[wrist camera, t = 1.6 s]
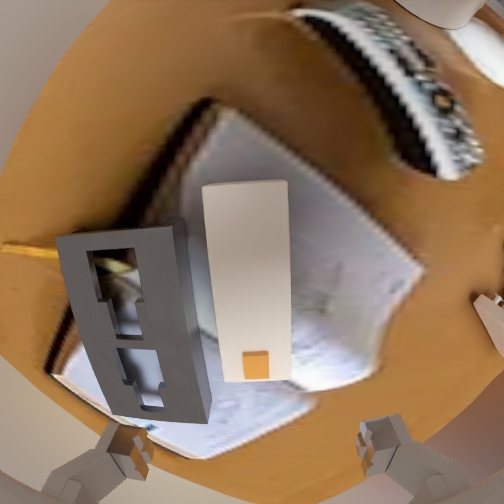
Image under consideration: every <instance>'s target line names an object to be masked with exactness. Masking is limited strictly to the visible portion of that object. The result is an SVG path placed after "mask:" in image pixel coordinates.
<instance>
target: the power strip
mask: <svg viewBox="0 0 504 504" xmlns="http://www.w3.org/2000/svg"><path fill="white" fill-rule="evenodd" d="M202 196H203V207H204V218H205V229H206V239H207V249H208V258H209V267H210V276H211V285H212V293H213V302H214V310H215V317H216V325H217V332H218V340H219V347H220V354H221V361H222V368H223V374H224V381H225V382H257V381H277V380H291V274H290V236H289V208H288V186H287V181H286V180H284V179H273V180H254V181H238V182H225V183H212V184H208V185H205V186H202Z"/></svg>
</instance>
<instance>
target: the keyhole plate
mask: <svg viewBox="0 0 504 504" xmlns="http://www.w3.org/2000/svg"><path fill="white" fill-rule="evenodd" d="M55 240H56V245H57V250H58V255H59V260H60V265H61V269H62V273H63V277H64V281H65V285H66V289H67V293H68V297H69V300H70V304H71V307H72V311H73V314H74V317H75V320H76V324H77V327H78V330H79V333H80V336H81V339H82V342H83V344H84V347H85V350H86V353H87V355H88V358H89V361H90V363H91V366H92V368H93V371H94V373H95V376H96V378H97V381H98V383H99V385H100V388H101V390H102V392H103V394H104V397H105V399H106V401H107V403H108V405H109V407H110V409H111V412H112V414H113V415H119V416H125V417H132V418H140V419H148V420H157V421H167V422H180V423H197V424H208V419H209V414H210V408H211V402H212V397H211V392H210V387H209V382H208V377H207V372H206V366H205V361H204V355H203V350H202V344H201V338H200V332H199V326H198V320H197V313H196V307H195V300H194V293H193V286H192V279H191V272H190V264H189V256H188V248H187V239H186V231H185V221H184V217H180V218H173V219H171V220H170V221H168V222H167V223H165V224H164V225H155V226H143V227H132V228H122V229H111V230H101V231H92V232H86V231H85V227H80V228H76V229H73V230H71V231H69V232H66V233H64V234H62V235H59V236H57V237H55ZM133 247H135V254H136V260H137V265H138V271H139V276H140V282H141V287H142V292H143V297H144V298H138V299H137V300H136V302H135V306H136V311H137V315H138V319H139V323H140V327H141V331H142V335H125V334H120V331H119V327H118V324H117V320H116V316H115V313H114V309H113V305H112V301H111V298H102V295H101V291H100V286H99V282H98V278H97V273H96V268H95V264H94V259H93V253H92V250H104V249H119V248H133ZM117 348H129V349H149V350H156V352H157V356H158V360H159V363H160V367H161V371H162V374H163V378H164V381H165V382H160V384H159V386H158V390H159V393H160V396H161V399H162V402H163V405H164V407H158V406H148V405H144V403H143V400H142V397H141V395H140V392H139V389H138V387H137V384H136V381H135V380H129V379H127V377H126V375H125V372H124V369H123V366H122V363H121V360H120V357H119V354H118V351H117Z"/></svg>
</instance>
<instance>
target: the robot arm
mask: <svg viewBox="0 0 504 504" xmlns="http://www.w3.org/2000/svg"><path fill="white" fill-rule="evenodd" d="M396 1H397V2H398V3H399V4H401V5H402V6H403V7H404V8H406V9H407V10H409V11H410V12H411V13H413V14H415V15H416V16H418V17H419V18H421V19H423V20H425V21H427V22H429V23H431V24H433V25H436V26H439V27H442V28H447V29H459V28H462V27H464V26H466V25H467V24H468V22H469V21H470V19H471V18H472V17H473V15H474V14H475V13H476V12H477V11H478V10H479V9H480V8H482V7H483V5H484V4H485V3H486V2H487V1H489V0H396ZM359 428H360V431H361V432H360V433H359V434H358V435H357V439H356V448H357V453H358V456H359V457H361V458H362V459H363V460H362V463H361V466H362V469H363V473H364V476H365V477H367V476H372V475H376V474H381V473H385V472H386V474H387V475H388V476H389V477H390V478H392V479H393V480H394V481H395V482H397V483H398V484H399V485H401V486H402V487H403V488H404V489H406V490H407V491H408V492H409V493H411V494H412V495H413V496H414V498H413V499H412V500H411V501H410V503H409V504H504V468H503V469H502V470H500V471H498V472H497V473H495V474H493V475H492V476H490V477H488V478H486V479H485V480H483V481H481V482H479V483H477V484H475V485H473V486H472V485H471V483H470V481H469V479H468V478H467V476H466V474H465V472H464V470H463V468H462V466H461V464H459V463H457V462H456V461H454V460H451V459H450V458H448V457H446V456H444V455H442V454H440V453H438V452H436V451H435V450H433V449H431V448H429V447H427V446H425V445H423V444H422V443H420V442H418V441H416V442H414V441H413V439H412V437H411V435H410V433H409V431H408V429H407V427H406V425H405V423H404V421H403V419H402V417H401V415H400V414H394V415H390V416H384V417H380V418H376V419H371V420H366V421H362V422H361V424H360V427H359ZM147 434H148V433H147V431H146V429H145V428H142V427H136V426H130V425H124V424H119V423H113V422H110V423H108V424H107V426H106V428H105V430H104V432H103V433H102V435H101V437H100V439H99V441H98V443H97V445H96V447H95V449H90V450H88V451H87V452H85V453H83V454H82V455H80V456H78V457H76V458H75V459H73V460H71V461H69V462H68V463H66V464H64V465H62V466H61V467H59V468H57V469H55V470H53V471H52V472H51V474H50V475H49V477H48V479H47V481H46V483H45V484H44V486H43V488H42V490H41V492H39V491H37V490H35V489H33V488H31V487H29V486H27V485H25V484H23V483H22V482H20V481H18V480H16V479H14V478H13V477H11V476H9V475H7V474H6V473H4V472H2V471H1V470H0V504H99V503H98V502H99V501H100V500H102V499H103V498H104V497H105V496H106V495H108V494H109V493H110V492H111V491H112V490H113V489H115V488H116V487H117V486H118V485H120V484H121V483H122V482H123V481H124V480H125V479H126V478H130V479H135V480H141V481H145V480H146V477H147V474H148V471H149V468H148V466H147V464H148V463H149V462H151V461H152V458H153V452H154V448H153V443H152V441H151V440H150V439H149V438H147Z"/></svg>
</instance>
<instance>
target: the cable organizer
mask: <svg viewBox="0 0 504 504" xmlns="http://www.w3.org/2000/svg"><path fill="white" fill-rule="evenodd" d="M495 294H496V293H495ZM495 296H496V297H495V299H494V300H493V301H492V300H490V299H489V298H487V297H486V296H484V295H482V294H481V295H480V296H479V297H478V298H477V299H476V300H475V302H474V307H475V309H476V311H477V313H478V314H479V316H480V318H481V320H482V322H483V324H484V326H485V327H486V329H487V331H488V333H489V335H490V337H491V339H492V341H493V343H494V345H495V347H496V349H497V350H498V351H499V353H500V354H501V355H502V356H503V357H504V305H503V306H502V307H500V306H499V305H497V304H498V303H499V301H503V299H502V297H501V296H499V295H497V294H496V295H495ZM503 302H504V301H503Z"/></svg>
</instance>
